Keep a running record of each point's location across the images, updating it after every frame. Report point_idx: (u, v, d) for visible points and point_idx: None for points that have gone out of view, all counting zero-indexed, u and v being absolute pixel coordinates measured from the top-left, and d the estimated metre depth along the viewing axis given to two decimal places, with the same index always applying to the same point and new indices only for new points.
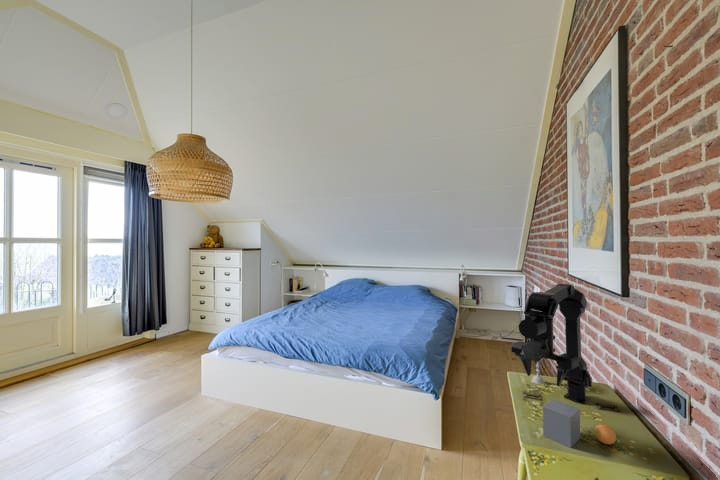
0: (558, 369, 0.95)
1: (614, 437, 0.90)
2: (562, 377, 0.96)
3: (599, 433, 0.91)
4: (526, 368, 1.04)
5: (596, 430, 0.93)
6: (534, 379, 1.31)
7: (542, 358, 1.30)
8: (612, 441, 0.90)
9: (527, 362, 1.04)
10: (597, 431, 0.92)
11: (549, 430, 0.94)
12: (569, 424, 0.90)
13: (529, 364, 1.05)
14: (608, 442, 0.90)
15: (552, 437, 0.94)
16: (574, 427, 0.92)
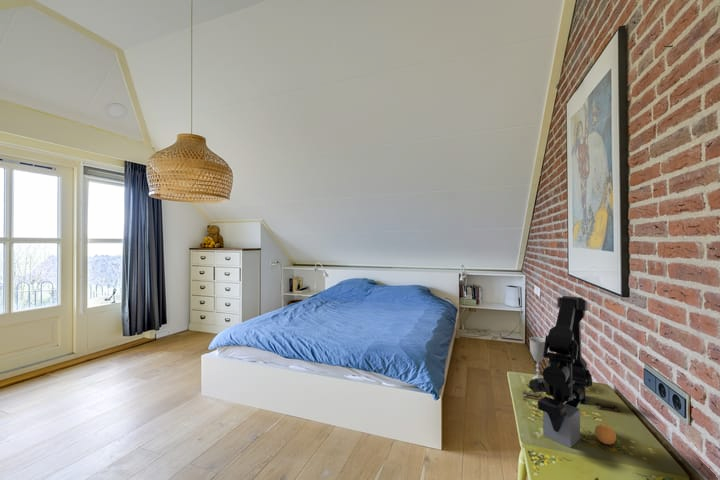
0: None
1: (614, 437, 0.90)
2: (554, 422, 0.92)
3: (599, 433, 0.91)
4: None
5: (596, 430, 0.93)
6: None
7: (542, 358, 1.30)
8: (612, 441, 0.90)
9: None
10: (597, 431, 0.92)
11: (549, 430, 0.94)
12: (569, 424, 0.90)
13: None
14: (608, 442, 0.90)
15: (552, 437, 0.94)
16: (574, 427, 0.92)
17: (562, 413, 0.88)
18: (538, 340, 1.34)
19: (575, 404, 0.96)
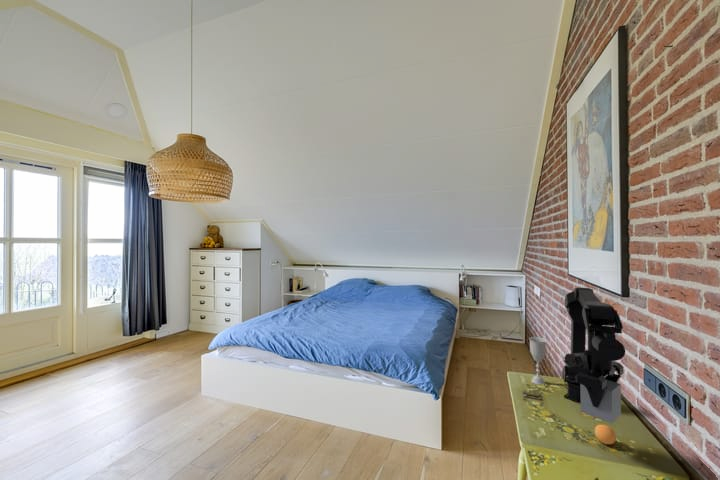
0: None
1: (614, 437, 0.90)
2: (594, 397, 0.87)
3: (599, 433, 0.91)
4: None
5: (596, 430, 0.93)
6: (534, 379, 1.31)
7: (542, 358, 1.30)
8: (612, 441, 0.90)
9: None
10: (597, 431, 0.92)
11: (587, 406, 0.89)
12: (610, 398, 0.85)
13: None
14: (608, 442, 0.90)
15: (591, 413, 0.88)
16: (615, 402, 0.86)
17: (603, 386, 0.83)
18: (538, 340, 1.34)
19: (615, 379, 0.90)
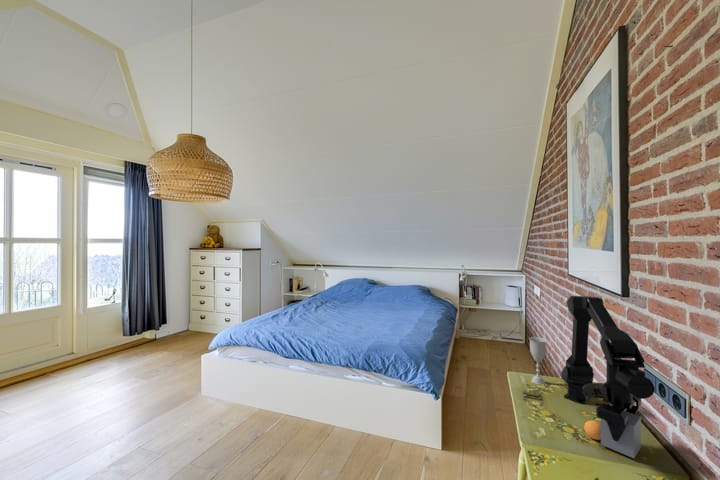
0: None
1: (596, 424, 0.93)
2: (614, 431, 0.86)
3: (587, 432, 0.94)
4: None
5: (586, 432, 0.95)
6: (534, 379, 1.31)
7: (542, 358, 1.30)
8: (599, 429, 0.92)
9: None
10: (586, 432, 0.94)
11: (608, 439, 0.89)
12: (633, 433, 0.84)
13: None
14: (598, 433, 0.92)
15: (612, 446, 0.88)
16: (637, 436, 0.86)
17: (626, 422, 0.83)
18: (538, 340, 1.34)
19: (634, 411, 0.90)
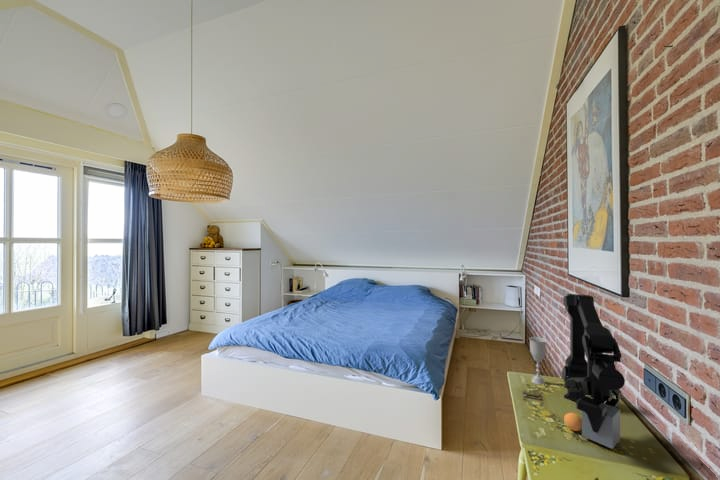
0: None
1: None
2: (594, 422, 0.90)
3: (574, 427, 0.96)
4: None
5: (578, 428, 0.96)
6: (534, 379, 1.31)
7: (542, 358, 1.30)
8: (564, 418, 0.99)
9: None
10: (576, 428, 0.96)
11: (588, 431, 0.92)
12: (611, 425, 0.88)
13: None
14: (566, 418, 0.98)
15: (592, 438, 0.92)
16: (615, 428, 0.90)
17: (604, 413, 0.86)
18: (538, 340, 1.34)
19: (613, 404, 0.94)
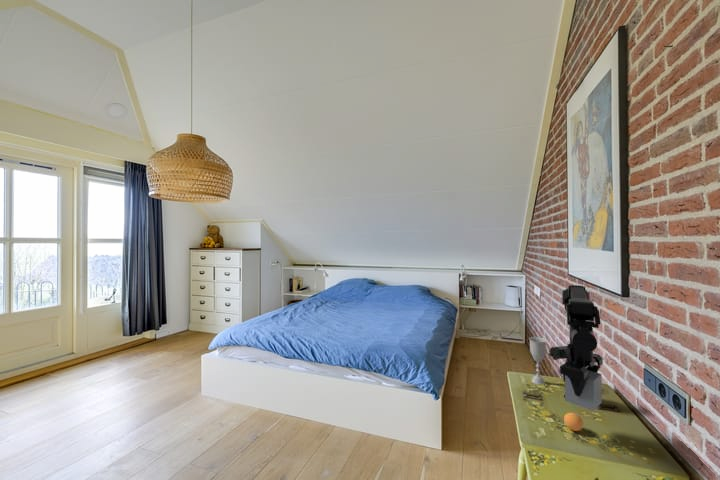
0: None
1: None
2: (576, 386, 0.94)
3: (574, 427, 0.96)
4: None
5: (578, 428, 0.96)
6: (534, 379, 1.31)
7: (542, 358, 1.30)
8: (564, 418, 0.99)
9: None
10: (576, 428, 0.96)
11: (571, 395, 0.96)
12: (592, 388, 0.92)
13: None
14: (566, 418, 0.98)
15: (574, 402, 0.95)
16: (596, 391, 0.93)
17: (585, 376, 0.90)
18: (538, 340, 1.34)
19: (595, 370, 0.98)
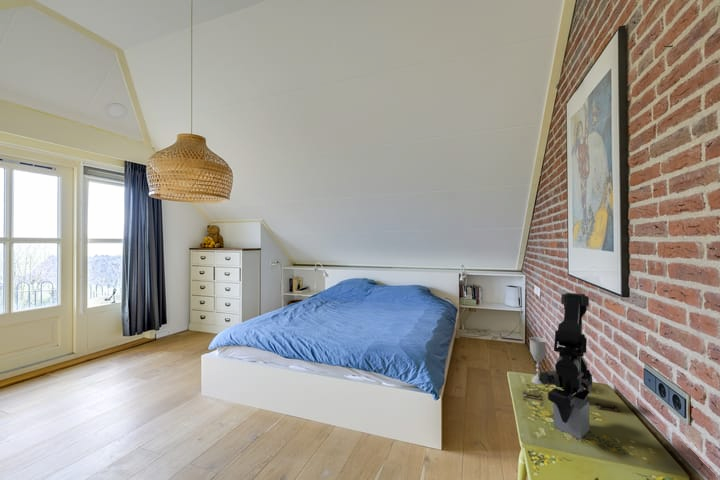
0: None
1: None
2: (563, 413, 0.96)
3: None
4: None
5: None
6: (534, 379, 1.31)
7: (542, 358, 1.30)
8: None
9: None
10: None
11: (560, 422, 0.98)
12: (579, 416, 0.94)
13: None
14: None
15: (562, 429, 0.98)
16: (584, 419, 0.96)
17: (572, 403, 0.92)
18: (538, 340, 1.34)
19: (584, 395, 1.00)
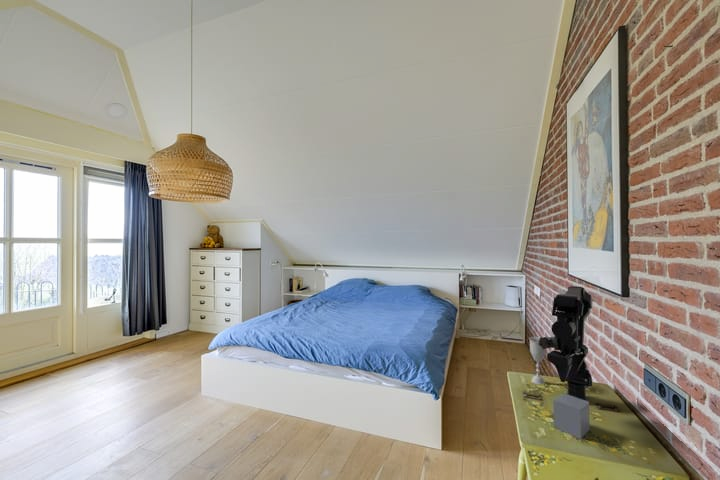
0: None
1: None
2: (561, 373, 1.02)
3: None
4: None
5: None
6: (534, 379, 1.31)
7: (542, 358, 1.30)
8: None
9: (571, 361, 1.09)
10: None
11: (560, 422, 0.98)
12: (579, 416, 0.94)
13: (575, 364, 1.08)
14: None
15: (562, 429, 0.98)
16: (584, 419, 0.96)
17: (569, 363, 0.99)
18: (538, 340, 1.34)
19: (581, 358, 1.07)
